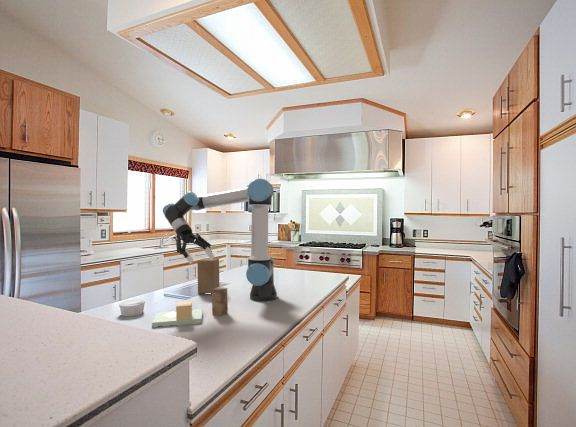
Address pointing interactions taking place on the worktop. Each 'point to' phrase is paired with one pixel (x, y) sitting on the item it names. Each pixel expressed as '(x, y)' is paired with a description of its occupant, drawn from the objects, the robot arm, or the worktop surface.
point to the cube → (184, 310)
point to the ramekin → (132, 307)
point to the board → (170, 318)
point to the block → (208, 275)
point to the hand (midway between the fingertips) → (202, 260)
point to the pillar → (219, 301)
